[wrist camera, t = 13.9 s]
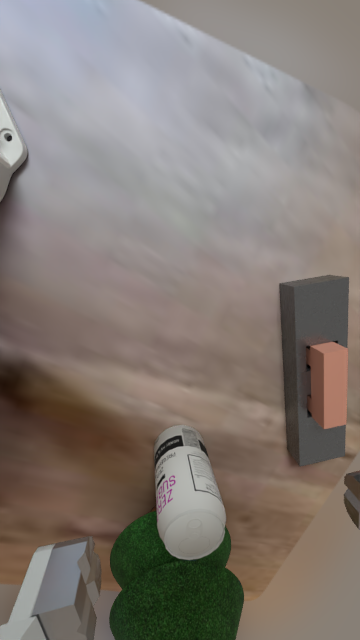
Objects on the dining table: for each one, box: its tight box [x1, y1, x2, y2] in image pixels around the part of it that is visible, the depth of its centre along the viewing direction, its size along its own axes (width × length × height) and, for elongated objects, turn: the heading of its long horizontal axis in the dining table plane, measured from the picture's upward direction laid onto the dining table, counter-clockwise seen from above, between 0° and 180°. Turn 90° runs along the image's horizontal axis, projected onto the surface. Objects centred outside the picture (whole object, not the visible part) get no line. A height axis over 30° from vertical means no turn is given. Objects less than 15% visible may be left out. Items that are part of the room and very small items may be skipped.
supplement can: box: [154, 425, 226, 560], centre depth 37 cm, size 8×8×15 cm
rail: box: [280, 275, 349, 466], centre depth 42 cm, size 30×8×4 cm, turn 8°
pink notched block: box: [306, 342, 348, 429], centre depth 40 cm, size 12×4×7 cm, turn 9°
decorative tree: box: [109, 507, 244, 640], centre depth 33 cm, size 19×19×30 cm
